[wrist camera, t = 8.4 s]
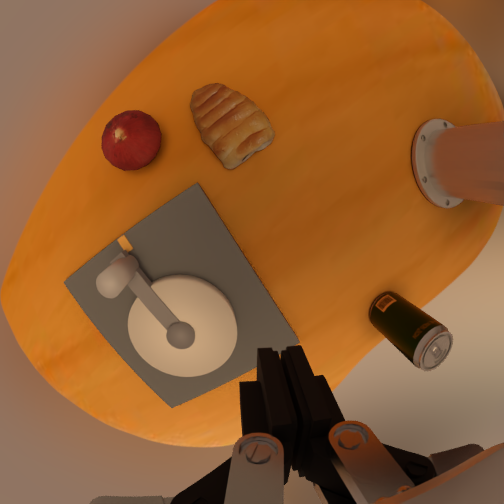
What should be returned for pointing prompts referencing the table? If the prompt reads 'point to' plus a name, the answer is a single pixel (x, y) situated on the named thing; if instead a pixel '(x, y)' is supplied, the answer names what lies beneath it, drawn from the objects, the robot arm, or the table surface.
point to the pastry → (230, 123)
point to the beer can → (411, 331)
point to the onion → (131, 140)
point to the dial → (173, 318)
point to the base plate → (194, 264)
